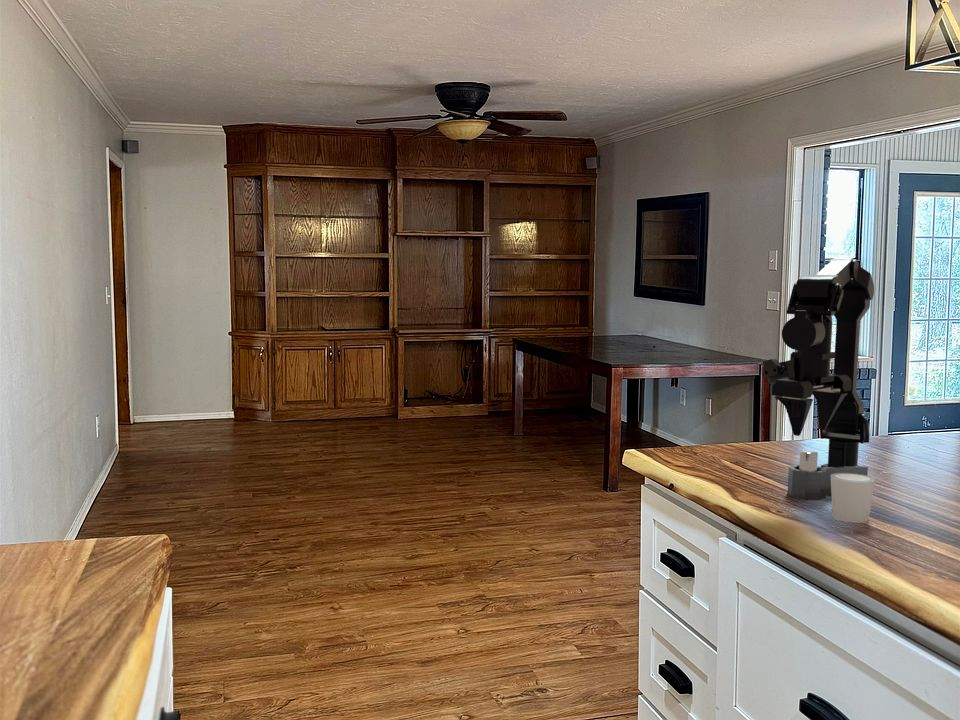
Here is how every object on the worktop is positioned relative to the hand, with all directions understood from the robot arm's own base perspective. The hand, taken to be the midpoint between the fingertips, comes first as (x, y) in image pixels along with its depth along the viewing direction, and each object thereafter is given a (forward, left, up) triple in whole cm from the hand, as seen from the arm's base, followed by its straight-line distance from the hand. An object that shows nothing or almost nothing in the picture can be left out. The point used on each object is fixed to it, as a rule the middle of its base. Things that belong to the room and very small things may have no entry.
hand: (809, 432), depth 159 cm
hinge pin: (0, 0, -12) cm, 12 cm away
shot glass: (+8, +12, -12) cm, 19 cm away
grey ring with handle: (-4, 0, -12) cm, 12 cm away
